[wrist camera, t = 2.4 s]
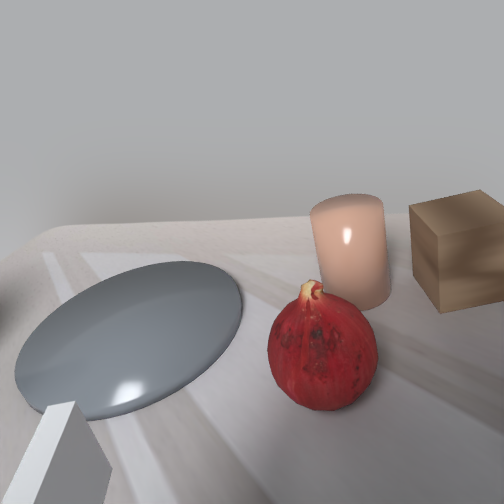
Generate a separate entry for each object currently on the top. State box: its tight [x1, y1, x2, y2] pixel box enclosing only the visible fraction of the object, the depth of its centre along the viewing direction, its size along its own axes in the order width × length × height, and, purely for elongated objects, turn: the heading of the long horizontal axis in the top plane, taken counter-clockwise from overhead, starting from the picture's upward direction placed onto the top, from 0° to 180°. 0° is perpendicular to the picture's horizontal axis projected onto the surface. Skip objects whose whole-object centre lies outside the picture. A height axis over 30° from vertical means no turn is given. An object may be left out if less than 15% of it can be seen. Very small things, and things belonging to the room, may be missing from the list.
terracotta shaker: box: [310, 194, 391, 311], centre depth 33 cm, size 5×5×7 cm
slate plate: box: [15, 261, 242, 421], centre depth 36 cm, size 18×18×1 cm
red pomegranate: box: [267, 279, 378, 411], centre depth 24 cm, size 6×6×8 cm
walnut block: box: [409, 190, 504, 314], centre depth 31 cm, size 5×5×6 cm
